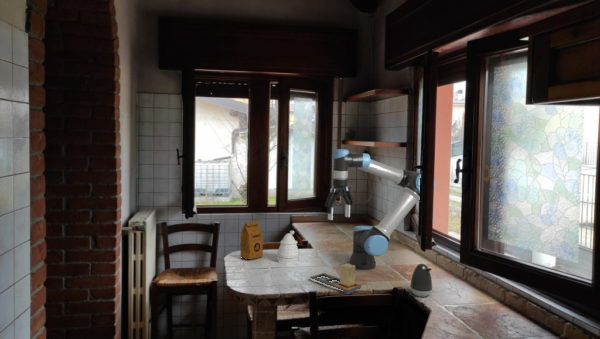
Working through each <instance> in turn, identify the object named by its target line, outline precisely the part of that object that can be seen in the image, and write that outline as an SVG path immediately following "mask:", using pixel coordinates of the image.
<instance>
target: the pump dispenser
mask: <svg viewBox="0 0 600 339" xmlns="http://www.w3.org/2000/svg"><path fill="white" fill-rule="evenodd" d="M430 271H432V267H428V265H426V264H425V263H419V264H417V265H416V267H415V268H414V270H413V273H412V275H411V279H410V282H409V284H410V285H409V286H410V290H411V292H412V293H413V295H414V296H417V297H422V298H424V297H427V296H429V295H430V294H431V292H432V290H433V280H432V276H431V275H432V274H431V272H430Z"/></svg>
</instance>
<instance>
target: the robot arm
mask: <svg viewBox="0 0 600 339" xmlns="http://www.w3.org/2000/svg"><path fill="white" fill-rule="evenodd" d="M349 168H355V169H358V170H360V171H364V172H366V173H369V174H371V175H374V176H376V177H377V176H378V177H380V178H383V179H385V180H387V181H390V182H393V183H394V185H397V186H399V187H401V188H403V189H404V192H403V193H402V194H401V195H400V197H398V200H396V202H395V203H394V205H392V207H391V208H390V209H389V211H388V212H387V213H386V214H385V216H383V218H382V219H381V221H380V222H379V223H378V224H377V225H357V226H354V227H353V232H352V234H353V238H352V240H353V243H352V253H351V256H350V259H349V262H348V264H352V265H355V269H358V270H372V269H375V268H376V266H377V262H376V259H375V257H379V256H380V257H381V256H382V255H384V254H385V253H386V252H387V250H388V248H389V242H390V241H391V235H392V233H393V232H394V231H395V230H396V228H397V227H398V226H399V225H400V224H401V222H402V221H403V220H405V219H404V218H405V217H406V216H407V215H408V213H409V212H410V211H411V210H412V209H413V207H414V206H415V205H416V204H417V203H418V202H420V201H419V200H420V178H421V174H420V173H421V172H418V171H413V170H406V169H403V168H395V167H393V166H390V165H387V164H385V163H382V162H379V161H377V160H374V159H371V156H370V154H369V153H364V152H363V153H362V152H361V153H360V152H352V151H349V150H348V149H347V148H346V149H340V148H337V149H334V153H333V179H332V180H333V181H332V186H333V188H332V187H330V188H329V190H328V191H329V192H328V194H327V197H326V199H325V200H326V201H325V203H324V207H326V208H327V220H329V221H333V218H334V216H333V214H334V207H333V205H335V202H336V200H337V198H339V197H342V198H343V200H344V202H345V207H344V208H345V209H344V211H345V212H344V217H346V218H350V217H351V209H352V208H351V207H352V206H353V204H354V199H353V195H352V192H351V187H350V186H348V177H349ZM435 188H436V181H435V180H434V190H436V189H435Z"/></svg>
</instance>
